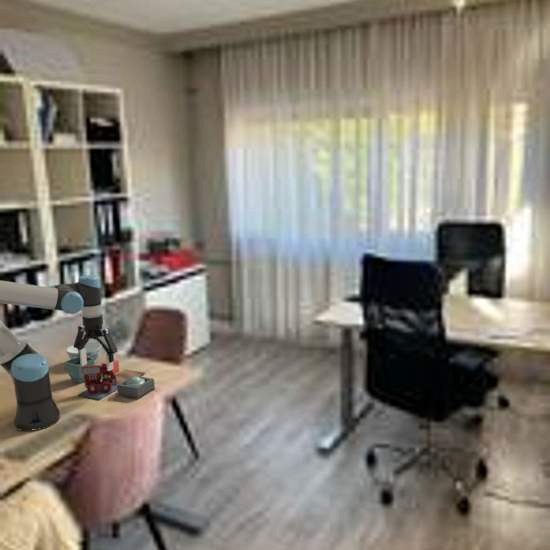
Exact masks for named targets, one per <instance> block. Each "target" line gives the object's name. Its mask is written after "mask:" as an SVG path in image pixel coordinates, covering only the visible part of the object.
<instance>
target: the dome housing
mask: <svg viewBox="0 0 550 550" xmlns="http://www.w3.org/2000/svg"><path fill="white" fill-rule="evenodd" d="M132 377H139V378H141V379H144V380H145V383H143V384H141V385H139V386H138V387H135V386H129V385H127V384H126V382H127V381H129V380H130V379H131V378H132ZM132 377H130V378H128V379H126V380H125V381H123V382H121V383H119V384H117V396H118V397H124V398H129V399H136V400H139V399H141V398H143V397H144V396H146V395H148V394H150V393H151V392H153V391H155V389H156V388H155V379H154V378H153V377H146V376H141V377H140V376H132Z"/></svg>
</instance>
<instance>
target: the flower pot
mask: <svg viewBox="0 0 550 550" xmlns="http://www.w3.org/2000/svg"><path fill="white" fill-rule="evenodd" d="M86 358H87V364H86V365H84V366H95V361H94V359H93V358H89V357H86ZM64 365H65V369H66V372H67V374H68V376H69V377H70V379H71V380H72V381H73V382H77V383H79V384H81V383H83V382H84V383H85V379H84V374H83V372H82V368H83V367H84V366H81V364H80V357H76V358H73V359H69V360H66V361H64Z"/></svg>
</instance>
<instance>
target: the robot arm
mask: <svg viewBox="0 0 550 550" xmlns="http://www.w3.org/2000/svg"><path fill="white" fill-rule="evenodd" d="M101 297H102V294H101V284H100V278H99V277H98V276H97V275H94V274H86V275H80V277H78V282H72V283H62V284H55V285H50V286H49V285H48V286H41V285H35V284H27V283H26V284H25V283H21V282H20V283H19V282H14V281H6V280H0V304H4V305H11V306H12V305H13V306H21V307H22V306H23V307H28V308H29V307H30V308H37V309H38V308H39V309H47V310H55V311H62V312H64V313H67V314H69V315H74V314H77V313H79V312H81V315H82V318H81V319H82V325H79V326H77V334H76V336H75V341H74V343H73V345H74V348H77V349H78V353H79V357H80V364H81V366H84V365H86V364H87V358H86V349H85V347H84V346H85V345H86V343H87V342H89V340H92V339H93V340H96V341H97V342H98V343H100V344H101V348H103V349H104V351H105V352H106V354H105V358H106V359H105V361H106V363H107V371H110V370H112V369H113V361H114V360H115V359H114V357H115V356H114V354H116V353H118V348H117V346H116V344H115V342H114V339H113V337H112V335H111V331H110V328H109V327H107V328H103V324H104V320H103V319H104V318H103V316H104V315H103V307H102V298H101ZM83 348H84V349H83ZM0 366H1V367H2V368H3V370H4V371H5V372H7V374H8V375H9V376H10V378H11V379H12V383H13V387H14V393H15V399H16V400H15V401H16V410H15V415H14V419H13V424H14V427H16V428H18V429H21V430H20V431H22V430H32V429H39V428H43V427H46V428H48V427H47V426H49V427H51V426H52V425H51V424H53V425H55V424H56V423H58V422H59V421H60V419H61V414H60V410H59V407H58V405H57V404H56V402H55V400H54V399H53V393H52V385H51V379H50V372H49V371H50V370H49V369H50V368H49V367H50V366H49V363H48V360H47V357H46V356H44V355H42V354H39V352H37V351H36V350H35V349H33V348H32V347H31V345H30V344H29V343H28V342H27V341H26V340H19V339H18V337H16V336H15V335H14V333H13V332H12V331H11V330H10V329H9V328H8V327H7V326H6V325H5V323H4V322H3V321H2V320H1V319H0ZM54 423H55V424H54ZM50 425H51V426H50ZM16 428H15V429H16ZM18 429H17V430H18ZM43 429H44V428H43ZM39 430H40V429H39Z"/></svg>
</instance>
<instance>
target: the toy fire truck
mask: <svg viewBox="0 0 550 550" xmlns="http://www.w3.org/2000/svg"><path fill="white" fill-rule="evenodd" d="M82 372H83V374H84V379H85V381H84V386H85V388H86V390H87V391H88V392H89V393H91V394H94V393H96V392H97V391H98V387H101V390H102V391H103V392H109V391H110V390H111V386H115V385H116V383H117V381H116V373H115V374H114V372H113V371H112V370H110V371H107V364H103V366H101V364H100V365H99V364H98V365H97V364H96V365H95V364H94V366H84V367H83V368H82ZM103 372H104V373H103ZM102 373H103V374H102Z"/></svg>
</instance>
